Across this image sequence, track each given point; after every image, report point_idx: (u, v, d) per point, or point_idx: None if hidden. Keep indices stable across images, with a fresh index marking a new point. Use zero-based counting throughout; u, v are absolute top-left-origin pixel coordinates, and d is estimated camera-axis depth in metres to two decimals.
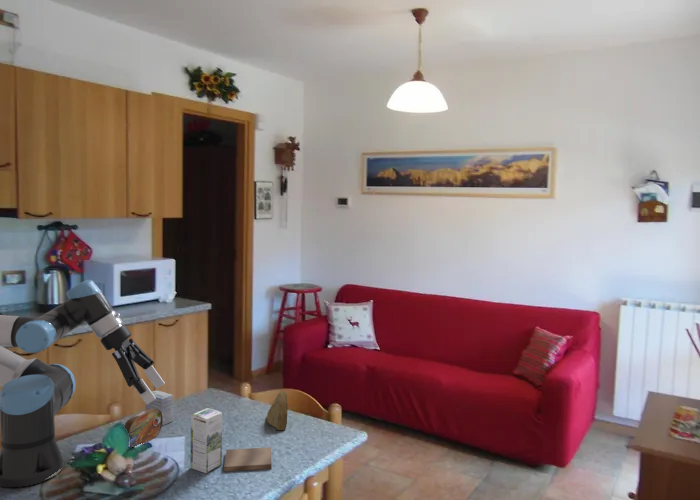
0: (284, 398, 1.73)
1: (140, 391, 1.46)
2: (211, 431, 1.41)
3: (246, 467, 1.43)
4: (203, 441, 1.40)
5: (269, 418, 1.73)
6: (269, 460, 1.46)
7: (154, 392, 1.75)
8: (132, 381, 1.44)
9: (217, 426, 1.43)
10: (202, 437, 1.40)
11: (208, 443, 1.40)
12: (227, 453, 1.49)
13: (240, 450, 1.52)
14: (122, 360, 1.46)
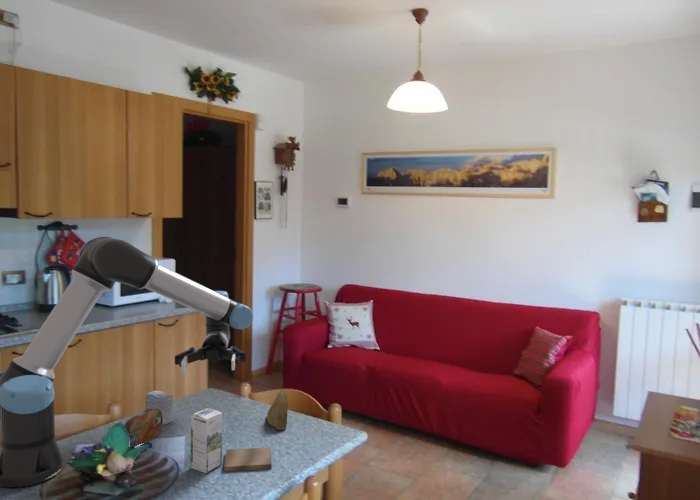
0: (284, 398, 1.73)
1: (239, 360, 1.59)
2: (211, 431, 1.41)
3: (246, 467, 1.43)
4: (203, 441, 1.40)
5: (269, 418, 1.73)
6: (269, 460, 1.46)
7: (154, 392, 1.75)
8: (245, 357, 1.63)
9: (217, 426, 1.43)
10: (202, 437, 1.40)
11: (208, 443, 1.40)
12: (227, 453, 1.49)
13: (240, 450, 1.52)
14: None
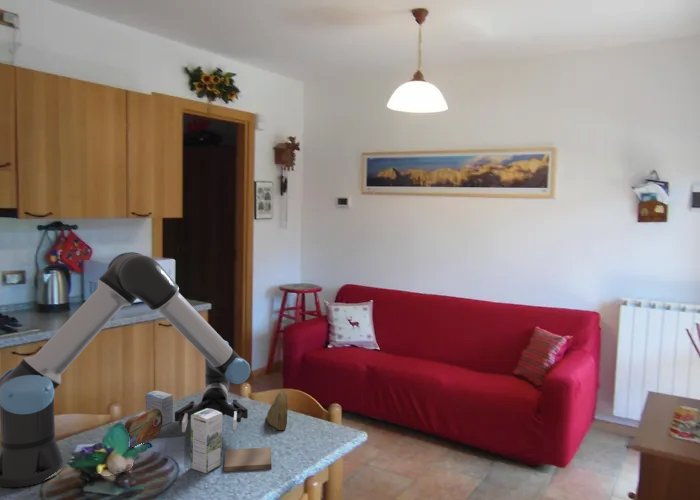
0: (284, 398, 1.73)
1: (240, 417, 1.56)
2: (211, 431, 1.41)
3: (246, 467, 1.43)
4: (203, 441, 1.40)
5: (269, 418, 1.73)
6: (269, 460, 1.46)
7: (154, 392, 1.75)
8: (247, 414, 1.60)
9: (217, 426, 1.43)
10: (202, 437, 1.40)
11: (208, 443, 1.40)
12: (227, 453, 1.49)
13: (240, 450, 1.52)
14: None
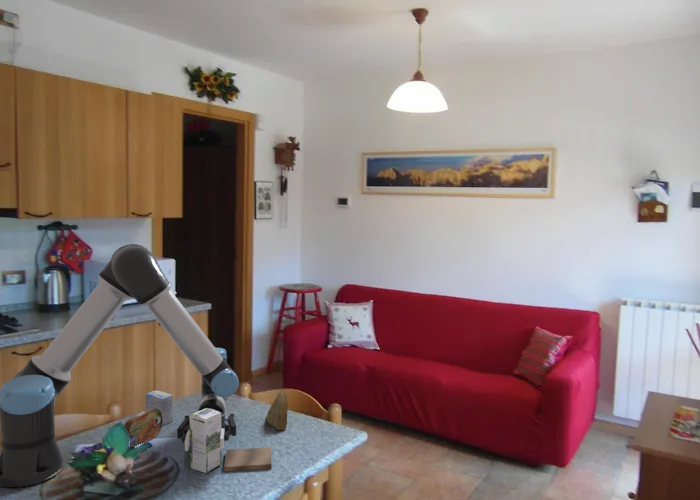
0: (284, 398, 1.73)
1: (228, 435, 1.44)
2: (210, 431, 1.41)
3: (246, 467, 1.43)
4: (202, 442, 1.40)
5: (269, 418, 1.73)
6: (269, 460, 1.46)
7: (154, 392, 1.75)
8: (235, 431, 1.47)
9: (216, 426, 1.42)
10: (201, 437, 1.40)
11: (208, 443, 1.40)
12: (227, 453, 1.49)
13: (240, 450, 1.52)
14: None
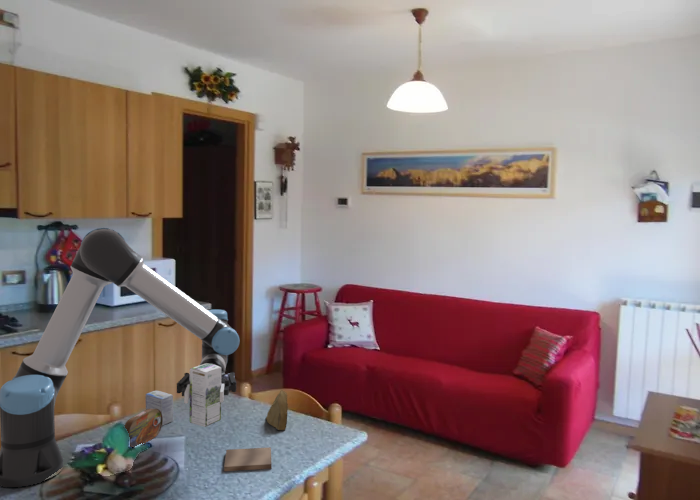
0: (284, 398, 1.73)
1: (228, 390, 1.43)
2: (210, 384, 1.40)
3: (246, 467, 1.43)
4: (202, 395, 1.39)
5: (269, 418, 1.73)
6: (269, 460, 1.46)
7: (154, 392, 1.75)
8: (235, 387, 1.46)
9: (216, 380, 1.41)
10: (201, 390, 1.39)
11: (207, 396, 1.39)
12: (227, 453, 1.49)
13: (240, 450, 1.52)
14: None
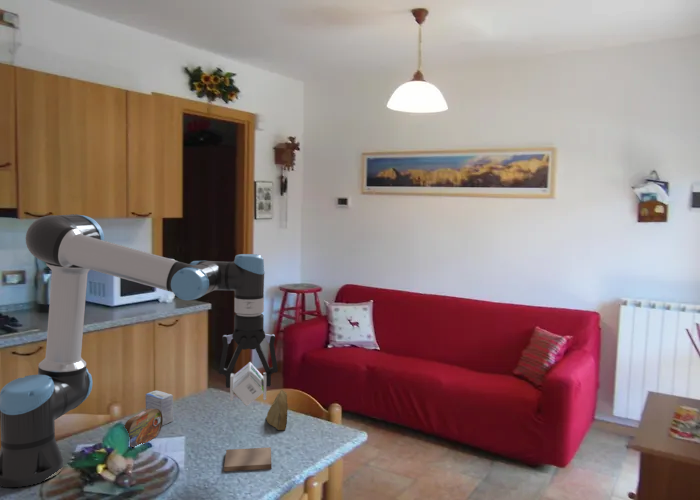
0: (284, 398, 1.73)
1: (226, 383, 1.46)
2: None
3: (246, 467, 1.43)
4: None
5: (269, 418, 1.73)
6: (269, 460, 1.46)
7: (154, 392, 1.75)
8: None
9: None
10: None
11: None
12: (227, 453, 1.49)
13: (240, 450, 1.52)
14: None
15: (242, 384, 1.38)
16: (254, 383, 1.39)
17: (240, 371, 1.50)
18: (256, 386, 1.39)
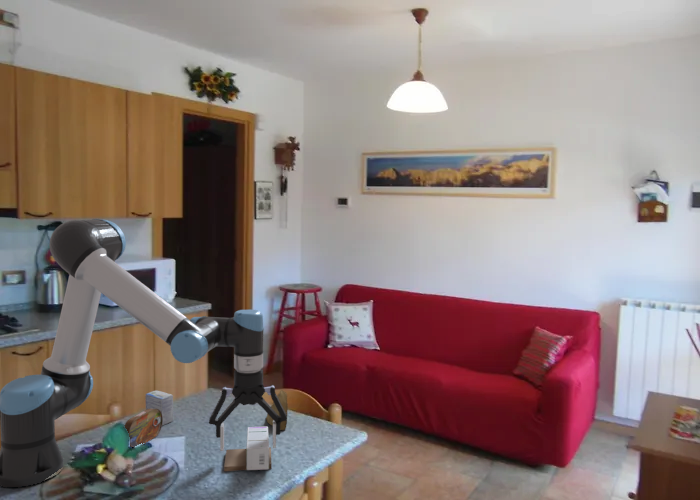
0: (284, 398, 1.73)
1: None
2: None
3: None
4: None
5: (269, 418, 1.73)
6: (269, 460, 1.46)
7: (154, 392, 1.75)
8: None
9: None
10: None
11: None
12: (227, 453, 1.49)
13: (240, 450, 1.52)
14: (219, 399, 1.45)
15: (258, 450, 1.40)
16: (267, 457, 1.40)
17: (256, 429, 1.51)
18: (267, 460, 1.40)
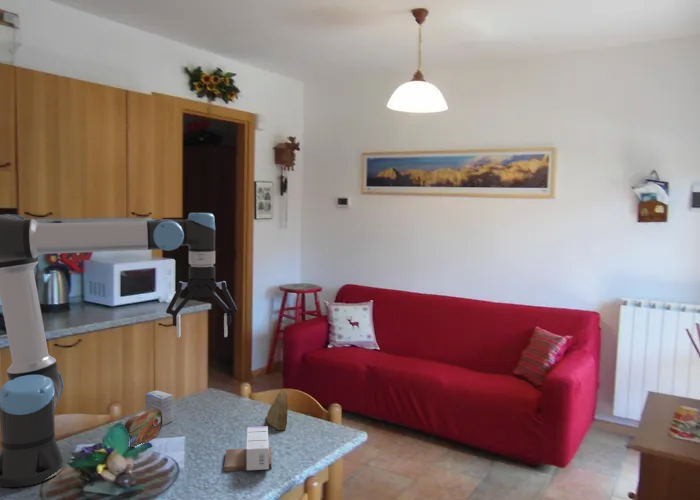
0: (284, 398, 1.73)
1: (173, 323, 1.64)
2: None
3: None
4: None
5: (269, 418, 1.73)
6: (269, 460, 1.46)
7: (154, 392, 1.75)
8: None
9: None
10: None
11: None
12: (227, 453, 1.49)
13: (240, 450, 1.52)
14: (176, 291, 1.62)
15: (258, 450, 1.40)
16: (267, 456, 1.40)
17: (255, 430, 1.51)
18: (267, 460, 1.40)
